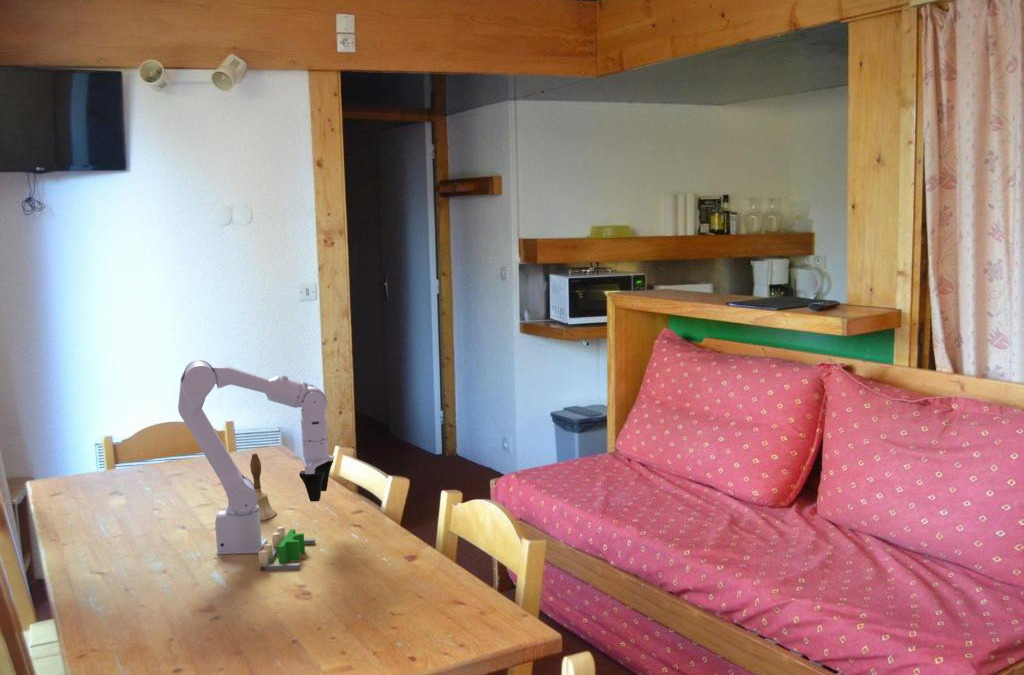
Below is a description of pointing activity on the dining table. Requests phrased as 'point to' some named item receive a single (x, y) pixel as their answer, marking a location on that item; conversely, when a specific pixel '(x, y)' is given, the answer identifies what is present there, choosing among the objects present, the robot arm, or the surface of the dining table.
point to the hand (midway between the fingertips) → (318, 495)
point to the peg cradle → (270, 554)
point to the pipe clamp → (291, 547)
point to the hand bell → (263, 502)
